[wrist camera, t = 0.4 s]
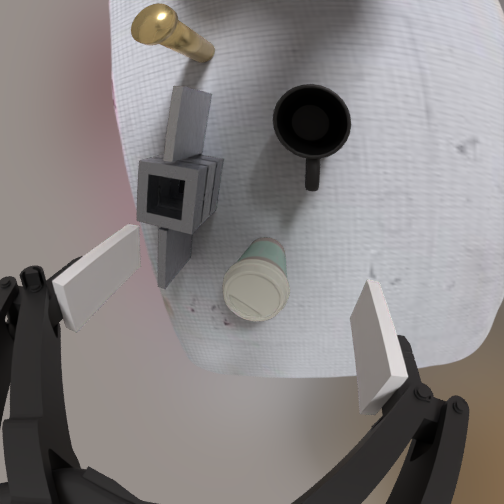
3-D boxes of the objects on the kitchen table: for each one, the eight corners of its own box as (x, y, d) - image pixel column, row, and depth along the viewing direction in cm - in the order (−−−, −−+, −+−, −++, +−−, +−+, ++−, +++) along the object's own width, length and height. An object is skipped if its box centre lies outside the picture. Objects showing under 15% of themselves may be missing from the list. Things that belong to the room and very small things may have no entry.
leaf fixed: (174, 151, 39) (139, 160, 30) (223, 159, 39) (198, 170, 30) (166, 251, 47) (137, 280, 38) (209, 262, 47) (187, 295, 38)
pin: (191, 38, 31) (136, 6, 17) (221, 38, 31) (177, 1, 17) (185, 65, 33) (126, 45, 20) (215, 67, 33) (167, 41, 19)
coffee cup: (231, 238, 44) (207, 277, 33) (282, 221, 41) (273, 257, 31) (252, 283, 47) (236, 330, 36) (301, 269, 44) (297, 316, 33)
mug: (279, 176, 38) (271, 191, 30) (280, 93, 33) (272, 82, 25) (337, 180, 37) (346, 196, 29) (340, 96, 32) (352, 87, 23)
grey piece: (182, 91, 35) (148, 85, 26) (234, 96, 34) (211, 88, 26) (169, 199, 43) (136, 220, 34) (216, 209, 42) (191, 234, 33)
